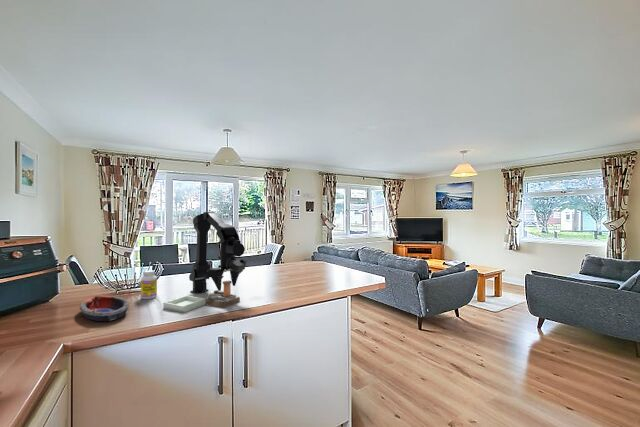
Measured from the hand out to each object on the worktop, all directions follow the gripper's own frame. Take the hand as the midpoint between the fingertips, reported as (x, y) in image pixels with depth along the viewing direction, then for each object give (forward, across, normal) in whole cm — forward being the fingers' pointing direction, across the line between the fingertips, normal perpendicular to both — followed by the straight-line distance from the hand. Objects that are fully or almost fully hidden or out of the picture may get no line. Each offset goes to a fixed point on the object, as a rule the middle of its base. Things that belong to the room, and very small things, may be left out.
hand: (226, 288), depth 133 cm
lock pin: (+5, 0, 0) cm, 5 cm away
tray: (+7, -11, +14) cm, 19 cm away
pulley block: (+7, 0, +4) cm, 8 cm away
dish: (+8, -31, +37) cm, 49 cm away
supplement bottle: (+7, -9, +41) cm, 43 cm away
